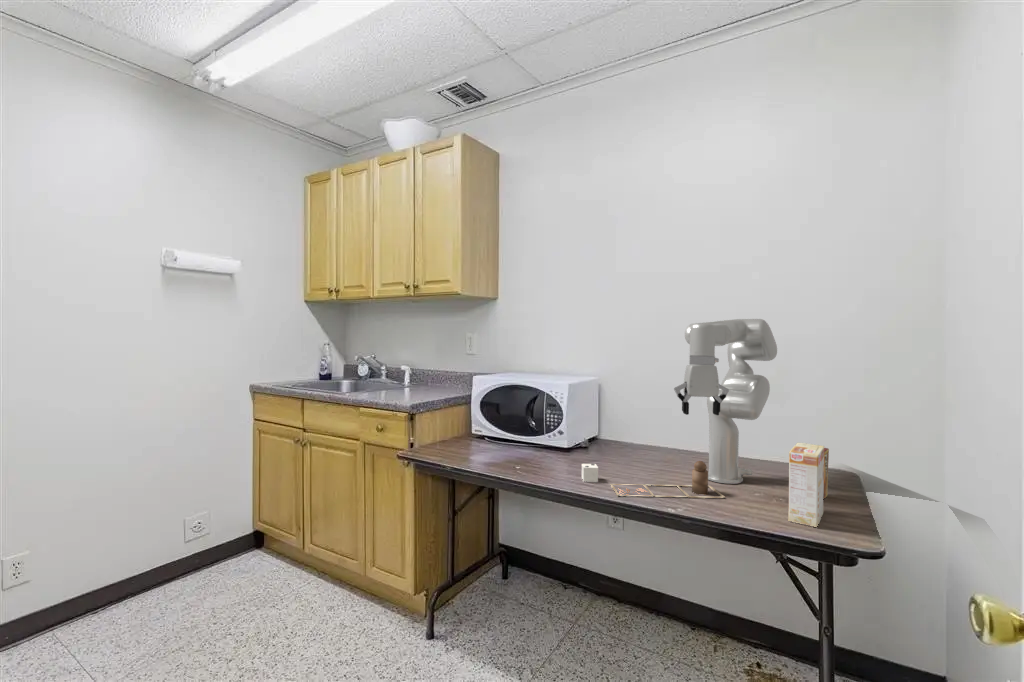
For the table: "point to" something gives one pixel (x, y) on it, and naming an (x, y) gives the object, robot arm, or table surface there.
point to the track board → (663, 496)
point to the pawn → (700, 478)
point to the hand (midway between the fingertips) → (700, 414)
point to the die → (590, 472)
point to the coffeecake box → (806, 484)
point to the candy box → (825, 471)
